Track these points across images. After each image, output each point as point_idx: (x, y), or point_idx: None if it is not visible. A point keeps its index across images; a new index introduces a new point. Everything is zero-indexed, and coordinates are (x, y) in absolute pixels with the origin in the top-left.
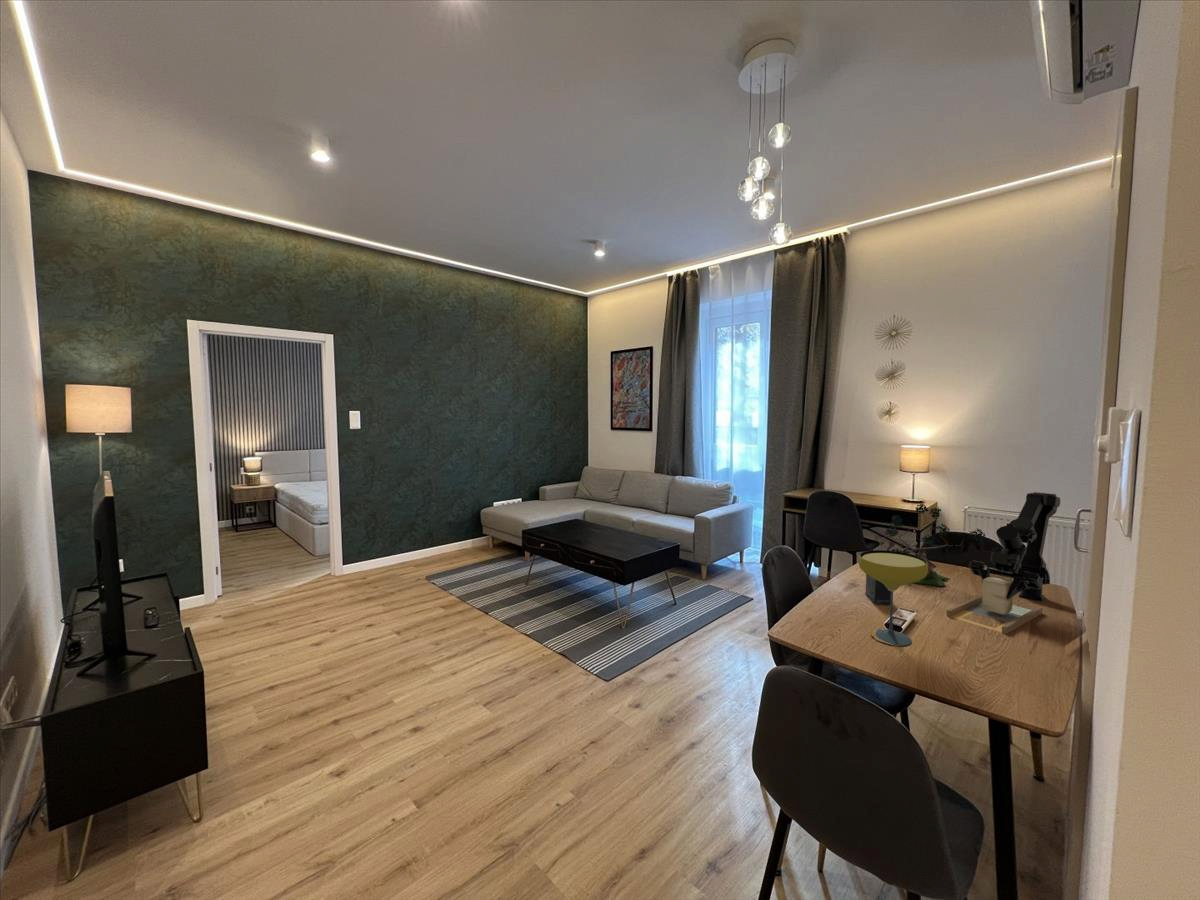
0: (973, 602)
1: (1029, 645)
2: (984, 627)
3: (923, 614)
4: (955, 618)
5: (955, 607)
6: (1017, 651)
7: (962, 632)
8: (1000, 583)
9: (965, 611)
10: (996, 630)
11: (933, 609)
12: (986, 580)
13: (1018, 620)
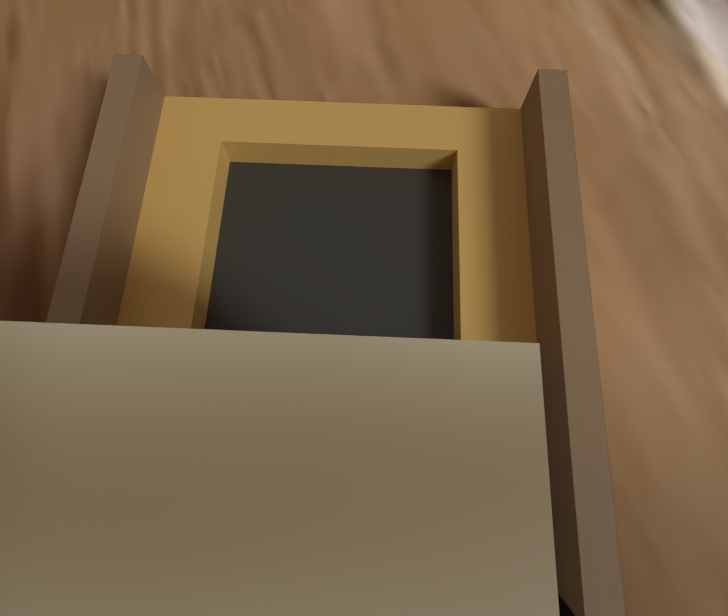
0: (569, 577)
1: (23, 132)
2: (276, 100)
3: (683, 118)
4: (480, 109)
5: (560, 181)
6: (71, 5)
7: (372, 28)
8: (21, 326)
9: (513, 323)
10: (201, 110)
11: (721, 274)
12: (434, 347)
13: (55, 289)
